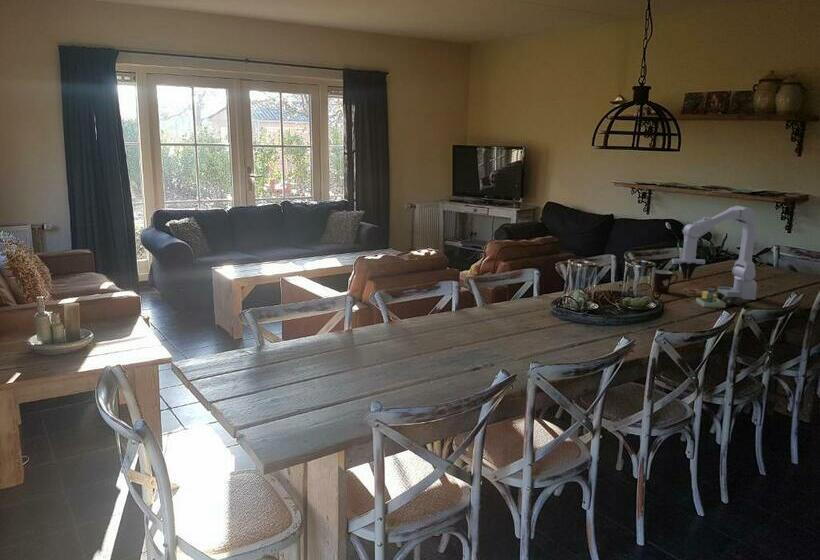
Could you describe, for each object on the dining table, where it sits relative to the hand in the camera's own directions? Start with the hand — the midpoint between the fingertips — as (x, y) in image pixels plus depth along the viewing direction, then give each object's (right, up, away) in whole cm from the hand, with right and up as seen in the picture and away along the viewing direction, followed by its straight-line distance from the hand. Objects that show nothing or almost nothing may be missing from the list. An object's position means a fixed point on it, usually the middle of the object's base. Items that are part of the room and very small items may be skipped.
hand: (686, 278), depth 308 cm
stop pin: (+7, -11, -7) cm, 15 cm away
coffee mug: (-4, -7, +16) cm, 18 cm away
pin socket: (+8, -8, +11) cm, 15 cm away
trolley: (+18, -11, -3) cm, 21 cm away
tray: (+8, -12, -7) cm, 16 cm away
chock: (+11, -10, +1) cm, 15 cm away
